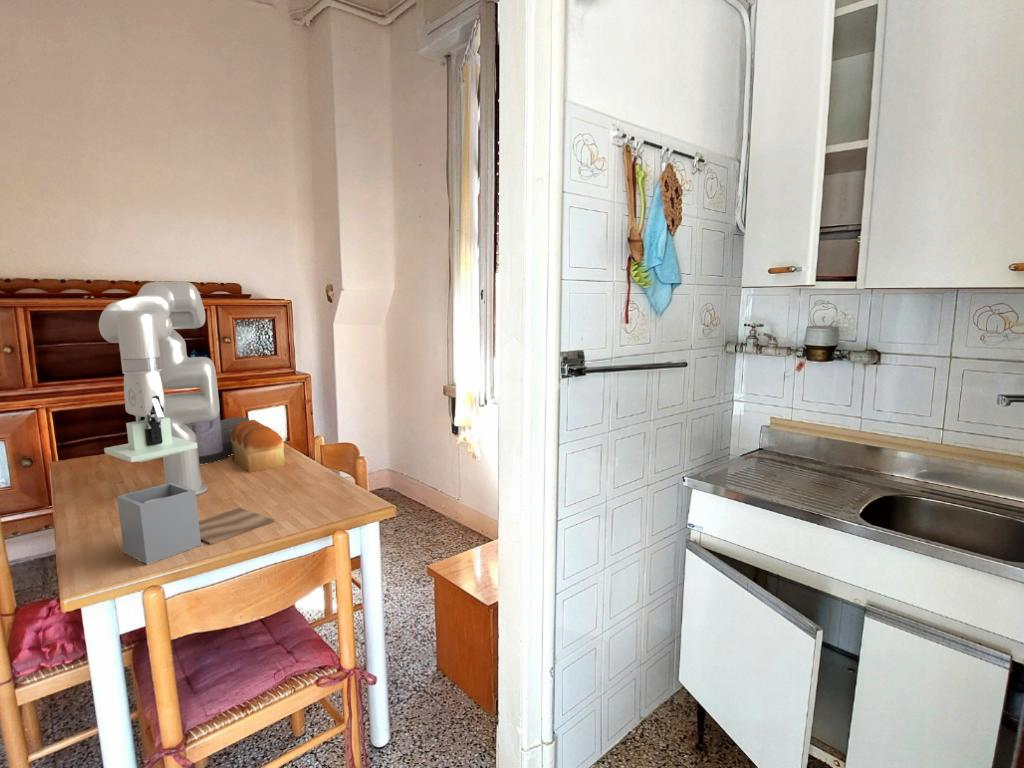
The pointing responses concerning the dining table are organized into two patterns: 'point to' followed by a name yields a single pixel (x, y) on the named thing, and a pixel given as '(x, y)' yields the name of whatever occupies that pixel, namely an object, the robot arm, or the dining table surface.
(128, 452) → the box lid
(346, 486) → the dining table surface
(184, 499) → the storage box
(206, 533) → the walnut board
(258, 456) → the bread
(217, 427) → the juicer
